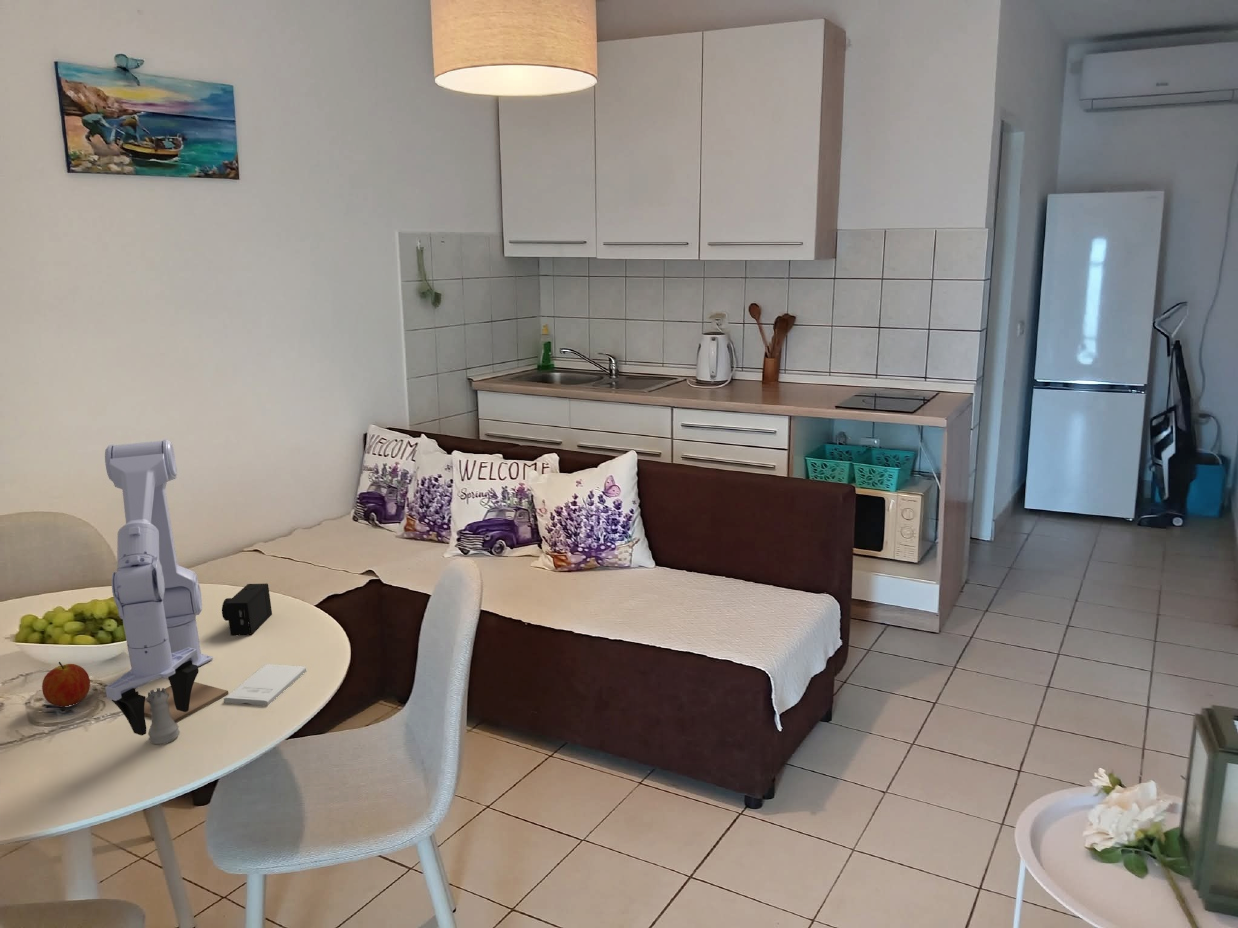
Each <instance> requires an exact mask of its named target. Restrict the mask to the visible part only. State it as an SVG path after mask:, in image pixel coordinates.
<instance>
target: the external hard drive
mask: <svg viewBox="0 0 1238 928" xmlns="http://www.w3.org/2000/svg"><path fill="white" fill-rule="evenodd" d="M305 672H306V673H307V667H306V666H302V665H301V666H300V665H299V666H298V665H286V664H272V663H271V664H270V663H265V664H264V665H263V666H261V667H260V668H259V669H257V671H255V672H254V673H253V674H252V675H251V676H249V677H248V678H247V679H245V681H243V682H241V684H239V685H238V686H237V687H236V688H235V689H233V691H231V692H230V693H228V695H226V696H224V697H223V702H224V704H226V703H227V704H236V705H237V704H238V705H239V704H240V705H243V704H246V705H247V704H248V705H251V704H252V705H251V706H263V705H269V704H270V703H271V702H272V703H273V702H275V700H276V697H278V696H279V695H280V694H281V693H282V694H284V692H285V691H284V690H286V689H287V688H288V687H289V686H290V685H291V684H292V685H293V684H294V683H296V682H297V681H298V680H299V679H300V678H301V677H302V676H304V674H303V673H305ZM306 673H305V674H306ZM301 675H302V676H301ZM300 676H301V677H300ZM298 678H299V679H298ZM297 679H298V680H297ZM296 680H297V681H296ZM295 681H296V682H295ZM293 682H294V683H293ZM292 685H291V686H292ZM291 686H290V687H291ZM290 687H289V688H290ZM289 688H288V689H289ZM288 689H287V690H288ZM287 690H286V691H287ZM283 691H284V692H283ZM282 694H281V695H282ZM281 695H280V696H281ZM280 696H279V697H280ZM279 697H278V698H279ZM274 699H275V700H274ZM272 703H271V704H272ZM271 704H270V705H271ZM270 705H269V706H270Z"/></svg>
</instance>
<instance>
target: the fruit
mask: <svg viewBox="0 0 1238 928" xmlns="http://www.w3.org/2000/svg"><path fill="white" fill-rule="evenodd" d="M58 665H59V666H56V667H54V668H52V669H51V670H49V671H48V672H47V673H46V674H45V676H44V678H43V680H42V684H41V689H42V691H41V692H42V694H43V695H42V696H43V698H44V700H46V701H47V702H48V703H49V704H51V705H53V706H56V707H60V706H62V708H66V707H65V706H69V705H73V704H76V703H78V702H79V703H80V702H81V701H82V700H84V699H85V698H86V696H87V695H88V694H89V691H90V688H91V680H90V676H89V674H88V672H87V671H86V669H84V668H83V667H82V666H80V665H77V664H75V663H66V664H62V662H61V661H59V662H58ZM79 703H78V704H79ZM76 705H77V704H76ZM73 706H74V705H73Z"/></svg>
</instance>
